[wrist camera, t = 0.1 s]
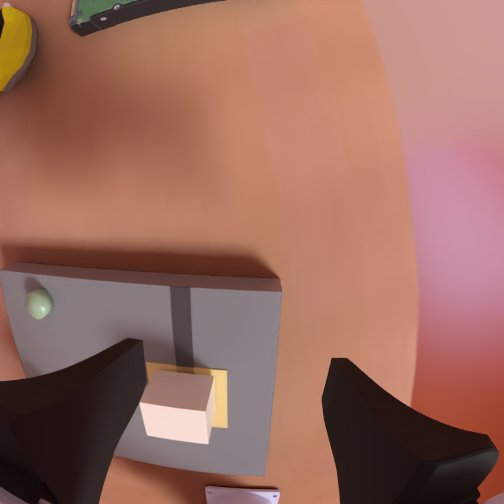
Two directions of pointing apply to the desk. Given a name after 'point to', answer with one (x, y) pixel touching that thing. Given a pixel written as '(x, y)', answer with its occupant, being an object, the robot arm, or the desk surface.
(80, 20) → the disk drive
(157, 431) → the lever
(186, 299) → the panel
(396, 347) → the desk surface
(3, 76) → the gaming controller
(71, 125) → the desk surface
